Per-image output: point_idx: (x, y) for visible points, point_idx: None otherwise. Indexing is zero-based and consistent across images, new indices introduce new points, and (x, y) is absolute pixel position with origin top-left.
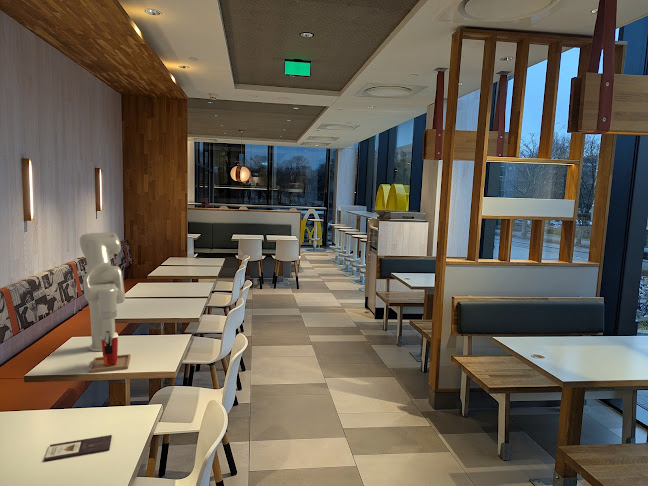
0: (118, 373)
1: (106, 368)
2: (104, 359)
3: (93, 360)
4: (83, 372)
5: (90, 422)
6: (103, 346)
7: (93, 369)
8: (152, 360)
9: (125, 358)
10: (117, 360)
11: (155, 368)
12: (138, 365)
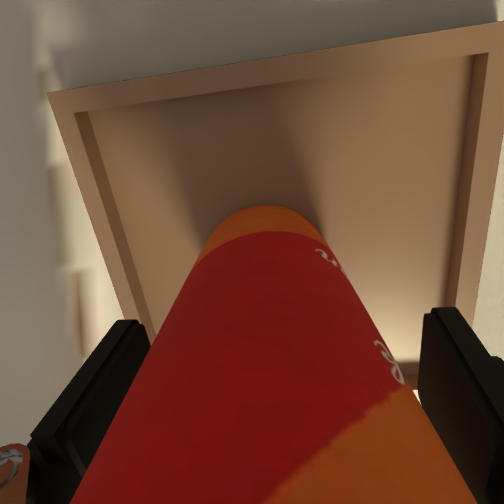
0: (76, 338)
1: (106, 261)
2: (206, 246)
3: (388, 42)
4: (84, 10)
5: None
6: (143, 368)
7: (64, 143)
8: None
9: (397, 356)
10: (363, 300)
11: None
12: None
